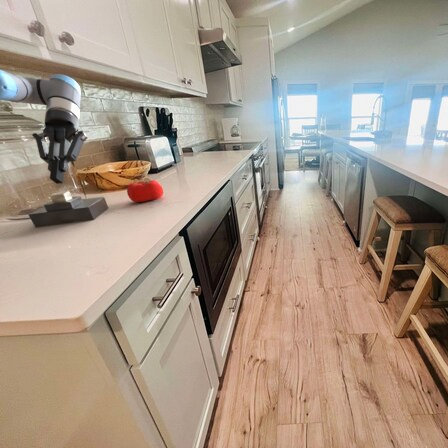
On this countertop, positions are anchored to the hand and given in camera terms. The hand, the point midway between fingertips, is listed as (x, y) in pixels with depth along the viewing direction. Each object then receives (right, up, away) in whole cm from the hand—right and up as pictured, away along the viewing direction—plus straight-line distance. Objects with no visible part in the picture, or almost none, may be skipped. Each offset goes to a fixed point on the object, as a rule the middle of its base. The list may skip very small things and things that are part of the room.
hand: (56, 180), depth 68 cm
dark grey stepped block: (0, -10, +6) cm, 12 cm away
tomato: (+14, -4, +19) cm, 24 cm away
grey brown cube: (0, -6, +2) cm, 6 cm away
